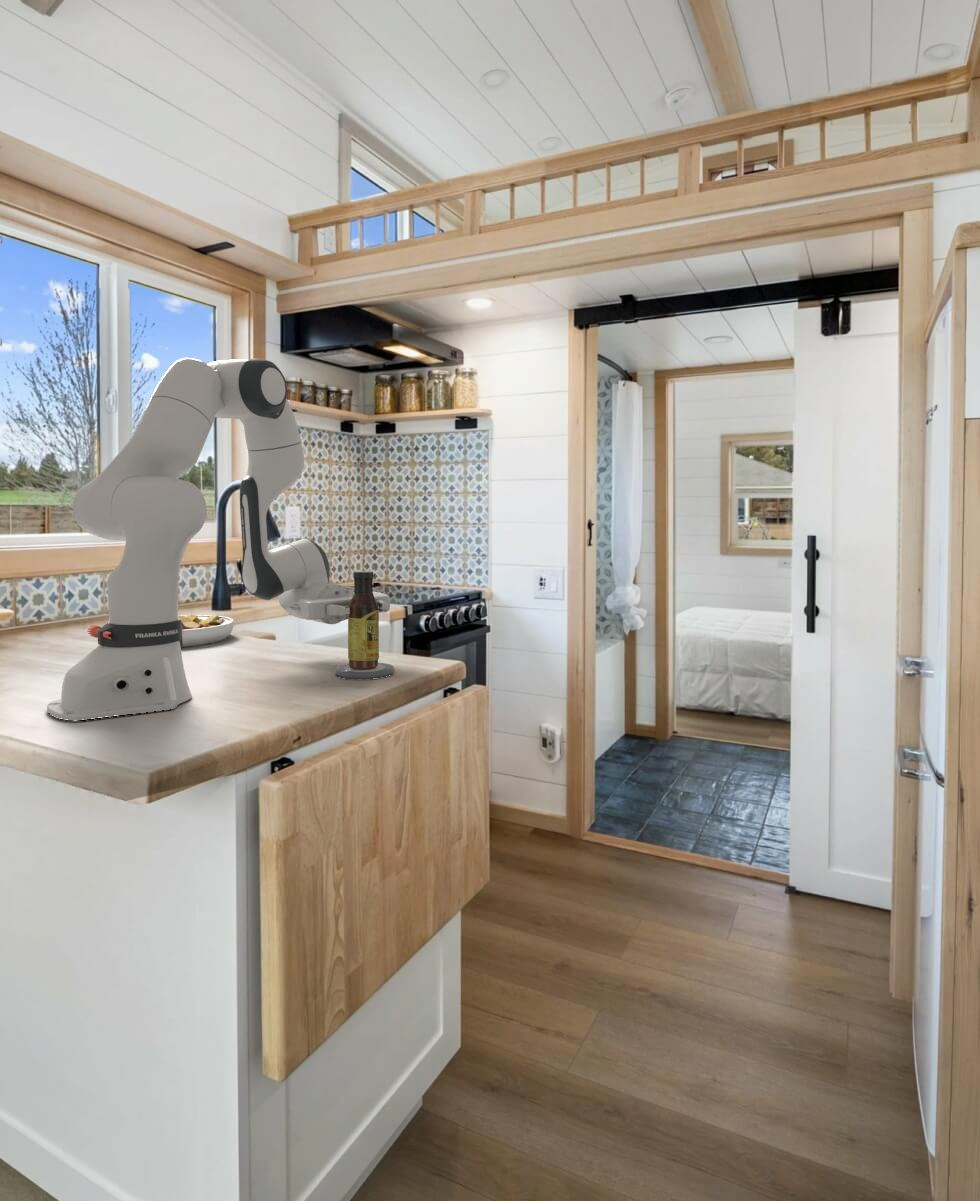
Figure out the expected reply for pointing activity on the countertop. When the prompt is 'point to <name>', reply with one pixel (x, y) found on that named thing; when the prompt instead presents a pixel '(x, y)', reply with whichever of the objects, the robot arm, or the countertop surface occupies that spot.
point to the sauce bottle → (363, 624)
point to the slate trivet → (364, 672)
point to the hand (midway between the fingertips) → (366, 609)
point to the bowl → (204, 629)
